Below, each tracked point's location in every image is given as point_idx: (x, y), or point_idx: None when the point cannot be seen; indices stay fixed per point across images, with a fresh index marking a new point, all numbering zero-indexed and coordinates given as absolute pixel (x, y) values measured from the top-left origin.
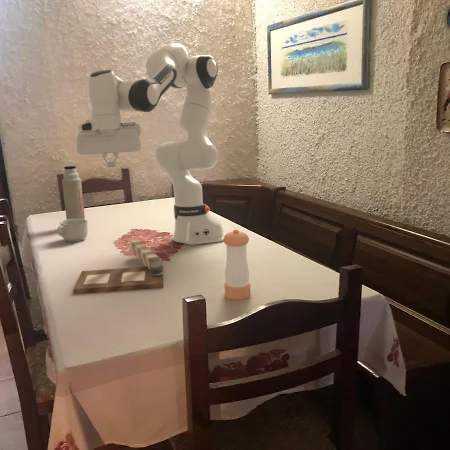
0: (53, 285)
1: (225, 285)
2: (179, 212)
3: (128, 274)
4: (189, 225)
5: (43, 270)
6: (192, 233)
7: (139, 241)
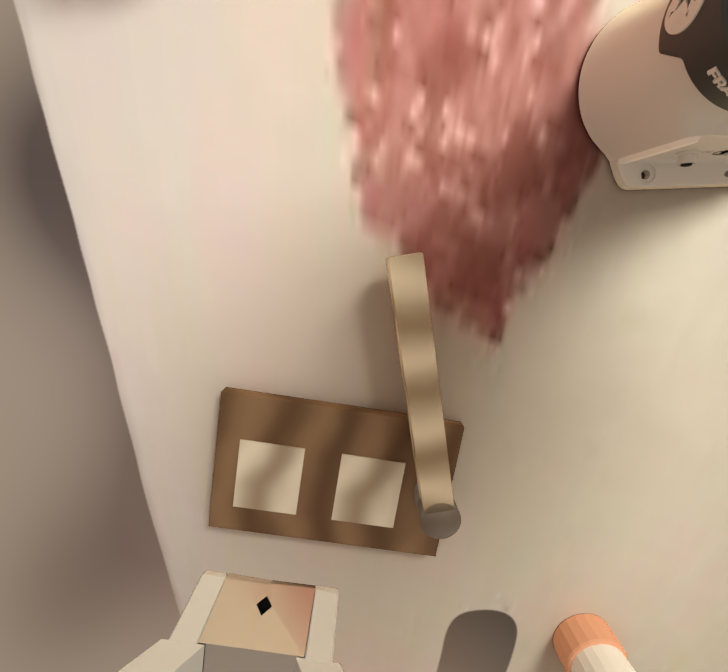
0: (152, 439)
1: (567, 668)
2: (706, 72)
3: (355, 473)
4: (686, 145)
5: (96, 293)
6: (668, 151)
7: (422, 297)
